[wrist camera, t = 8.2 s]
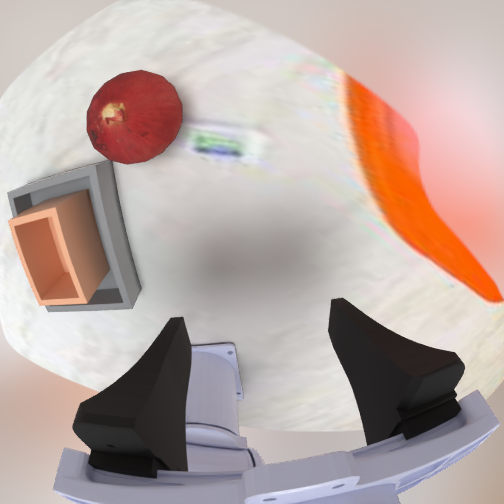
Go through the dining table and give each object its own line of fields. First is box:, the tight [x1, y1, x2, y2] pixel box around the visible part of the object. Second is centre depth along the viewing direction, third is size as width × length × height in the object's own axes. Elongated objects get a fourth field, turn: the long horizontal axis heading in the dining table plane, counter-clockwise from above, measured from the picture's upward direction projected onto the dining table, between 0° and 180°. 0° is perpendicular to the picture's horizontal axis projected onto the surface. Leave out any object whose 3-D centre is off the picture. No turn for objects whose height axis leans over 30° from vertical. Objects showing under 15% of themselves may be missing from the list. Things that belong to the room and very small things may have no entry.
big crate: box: [8, 160, 141, 312], centre depth 19 cm, size 11×9×3 cm
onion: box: [87, 70, 182, 164], centre depth 14 cm, size 6×6×8 cm
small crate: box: [8, 189, 110, 306], centre depth 17 cm, size 7×5×5 cm
